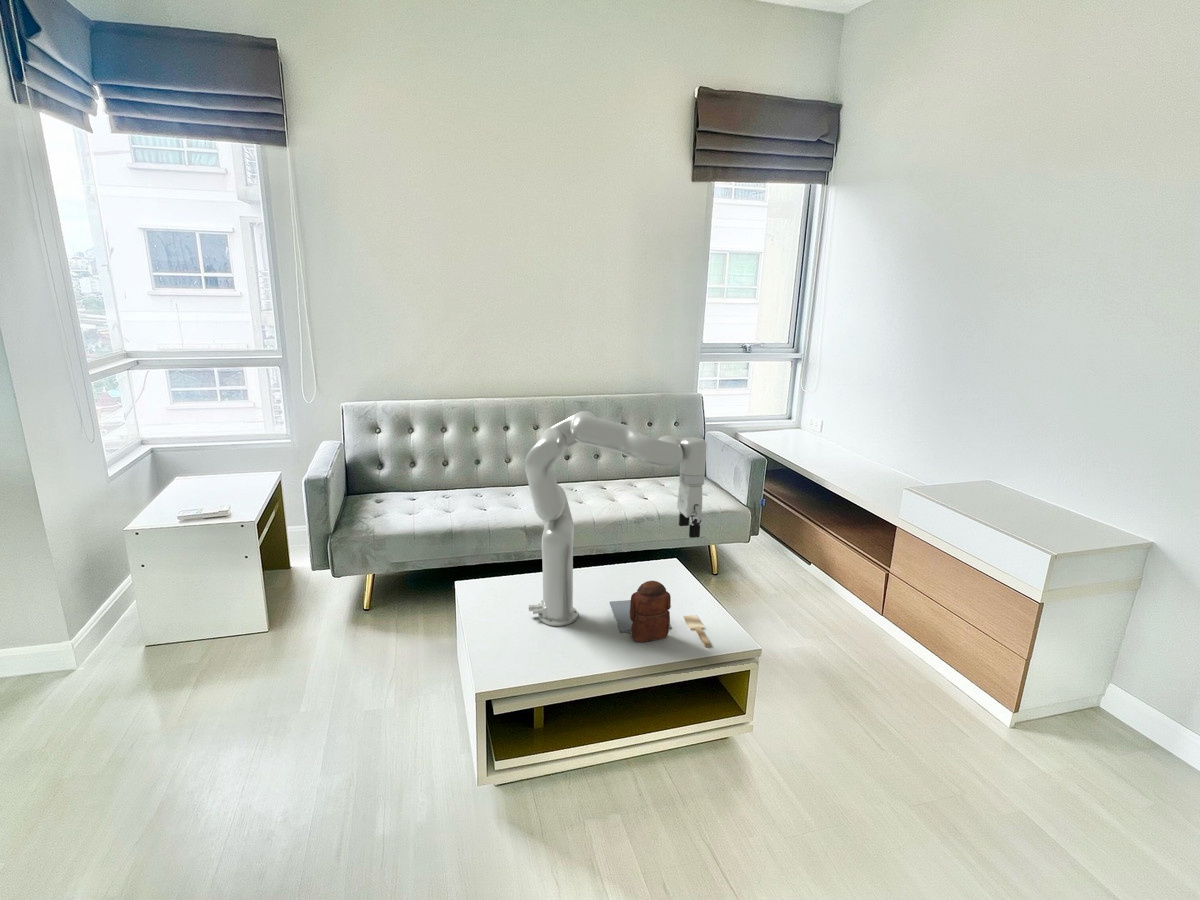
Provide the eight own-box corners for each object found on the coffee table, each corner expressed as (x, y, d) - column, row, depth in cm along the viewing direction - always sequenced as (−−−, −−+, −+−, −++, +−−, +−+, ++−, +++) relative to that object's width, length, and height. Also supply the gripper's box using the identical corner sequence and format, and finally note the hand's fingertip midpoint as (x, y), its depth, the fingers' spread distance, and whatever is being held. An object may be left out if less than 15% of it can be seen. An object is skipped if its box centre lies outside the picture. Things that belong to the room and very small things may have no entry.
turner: (715, 646, 182) (715, 643, 182) (700, 647, 182) (700, 644, 181) (696, 616, 200) (696, 613, 199) (683, 617, 199) (683, 614, 199)
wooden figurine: (661, 628, 192) (663, 574, 188) (670, 638, 186) (673, 583, 182) (626, 634, 188) (627, 580, 184) (634, 645, 182) (636, 589, 178)
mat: (620, 632, 189) (620, 630, 189) (609, 603, 207) (609, 601, 207) (671, 628, 192) (671, 627, 192) (655, 600, 210) (656, 598, 210)
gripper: (671, 471, 195) (669, 522, 199) (689, 487, 179) (686, 542, 183) (694, 470, 196) (691, 521, 201) (714, 486, 180) (710, 541, 184)
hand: (688, 531), depth 192 cm, fingers open, 9 cm apart
